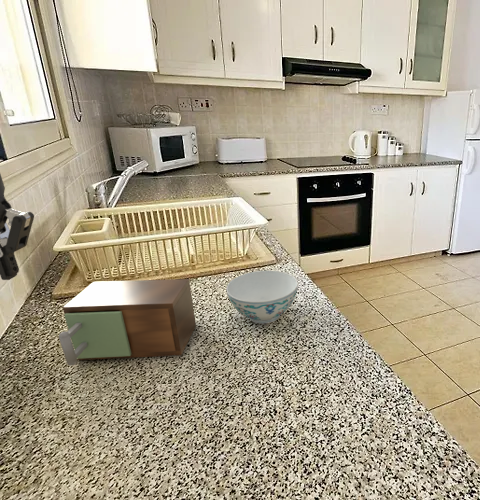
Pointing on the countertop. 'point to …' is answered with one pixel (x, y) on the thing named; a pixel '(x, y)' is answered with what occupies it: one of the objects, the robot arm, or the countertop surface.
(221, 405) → the countertop surface
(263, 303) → the chinaware
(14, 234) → the robot arm
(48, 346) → the countertop surface
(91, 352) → the slide door
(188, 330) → the cupboard
